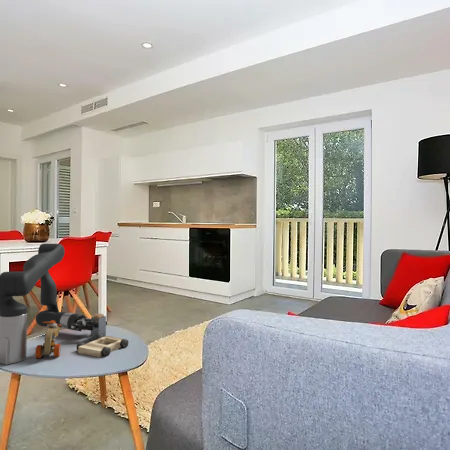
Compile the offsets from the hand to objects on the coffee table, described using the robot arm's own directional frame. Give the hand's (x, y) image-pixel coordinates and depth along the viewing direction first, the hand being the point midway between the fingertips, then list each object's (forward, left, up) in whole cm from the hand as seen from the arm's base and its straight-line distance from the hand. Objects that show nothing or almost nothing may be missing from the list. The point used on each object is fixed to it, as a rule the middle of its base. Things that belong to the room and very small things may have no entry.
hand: (99, 325), depth 159 cm
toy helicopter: (-21, +6, -6) cm, 23 cm away
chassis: (-9, -10, -6) cm, 15 cm away
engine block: (0, +1, -6) cm, 6 cm away
